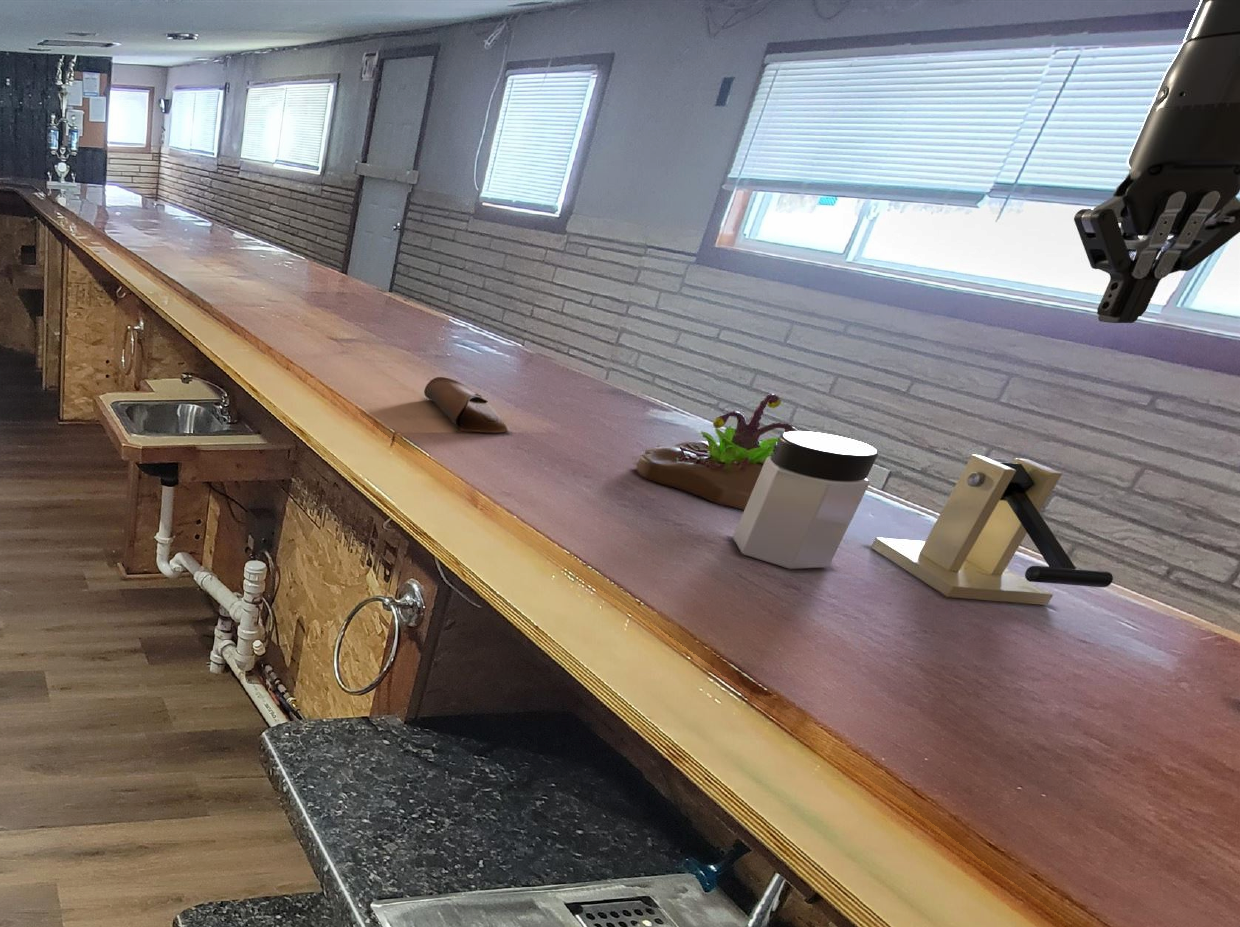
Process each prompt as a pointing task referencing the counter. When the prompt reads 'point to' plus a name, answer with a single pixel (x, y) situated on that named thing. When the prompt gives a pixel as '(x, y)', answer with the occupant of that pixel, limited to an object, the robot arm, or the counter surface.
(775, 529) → the jar
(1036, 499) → the bracket
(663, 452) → the plant
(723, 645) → the counter surface
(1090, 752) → the counter surface
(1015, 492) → the lever
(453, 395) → the sunglasses case
